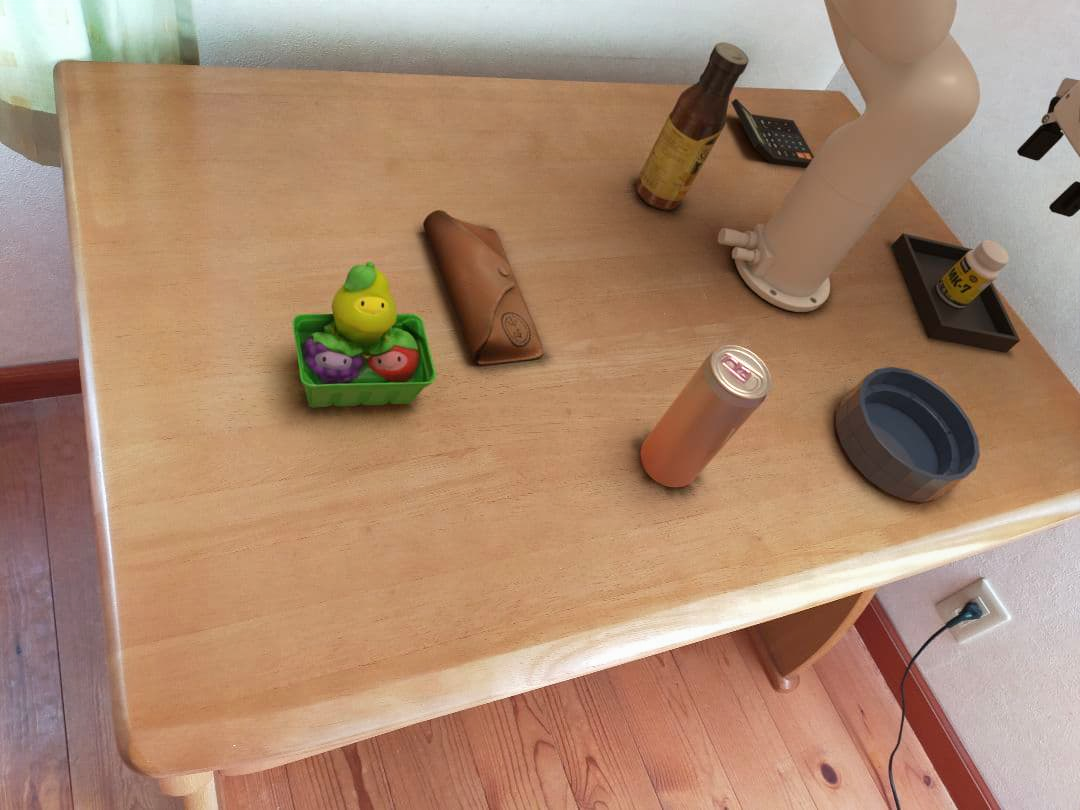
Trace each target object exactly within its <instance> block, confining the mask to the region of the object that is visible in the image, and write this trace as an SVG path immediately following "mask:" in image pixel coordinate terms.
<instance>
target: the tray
mask: <svg viewBox="0 0 1080 810" xmlns="http://www.w3.org/2000/svg"><path fill="white" fill-rule="evenodd" d="M891 249H892V251H893V253H894V256H895V258H896V261H897V263H898V266H899V268H900V270H901V273H902V275H903V278H904V281H905V283H906V286H907V288H908V291H909V293H910V295H911V297H912V300H913V302H914V305H915V307H916V310H917V312H918V315H919V317H920V320H921V322H922V324H923V327H924V329H925V332H926V333H927V337H928V338H929V339H934V340H938V341H945V342H951V343H955V344H961V345H966V346H970V347H975V348H982V349H987V350H990V351H991V350H992V351H998V352H1003V353H1008V352H1009V351H1010V350H1012V348H1013V347H1015V346H1016V345H1017V344H1018V343H1019V342H1020V341H1021V339H1020V336H1019V335H1018V332H1017V331H1016V328H1015V326H1014V325H1013V322H1012V320H1011V318H1010V316H1009V314H1008V312H1007V310H1006V307H1005V306H1004V303H1003V302H1002V300H1001V298H1000V295H999V293H998V292H997V290H996V287H995V285H994V283H993V282H991V283H990V284H989V285H988V286H987V287H986V288H985V289H984V290H983V291H982V292H981V293H980V294H979V295H978V296H977V297H976V298H974V299H973V300H972V301H971V302H970V303H969V304H968V305H967V306H966V307H963V308H956V307H953V306H951V305H949V304H948V303H946V302H945V301H944V300H943V299H942V298H941V297H940V296H939V294H938V292H937V289H936V285H937V283H938V282H939V280H940V279H941V278H943V276H944V275H945V274H946V273H947V272H948V271H949V270H950V269H951V268H952V267H953V266H954V265H955V264H956V263H957V262H958V261H959V260H960V259H961V258H962V257H963V256H964V255H965V254H966V253H967V252H969V251H970V250H975V248H974V249H973V248H969V247H965V246H961V245H957V244H952V243H947V242H943V241H938V240H934V239H931V238H925V237H922V236H917V235H913V234H909V233H904V232H902V233H901V234H900V236H899V237H898V238H897V239H896V240H895V241H894V242H893V243H892V245H891Z"/></svg>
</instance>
